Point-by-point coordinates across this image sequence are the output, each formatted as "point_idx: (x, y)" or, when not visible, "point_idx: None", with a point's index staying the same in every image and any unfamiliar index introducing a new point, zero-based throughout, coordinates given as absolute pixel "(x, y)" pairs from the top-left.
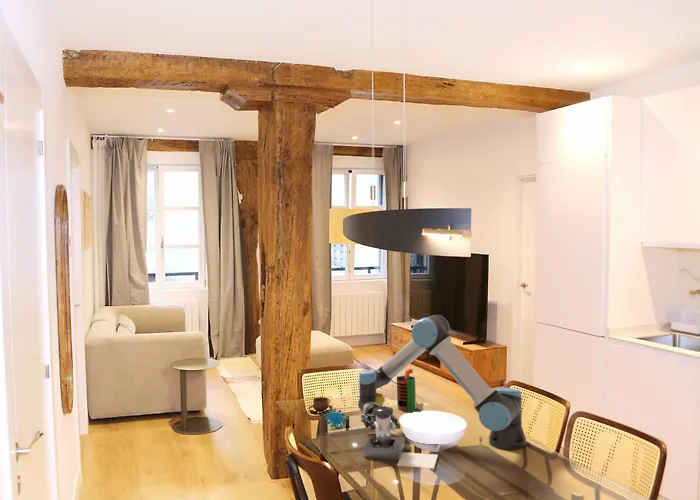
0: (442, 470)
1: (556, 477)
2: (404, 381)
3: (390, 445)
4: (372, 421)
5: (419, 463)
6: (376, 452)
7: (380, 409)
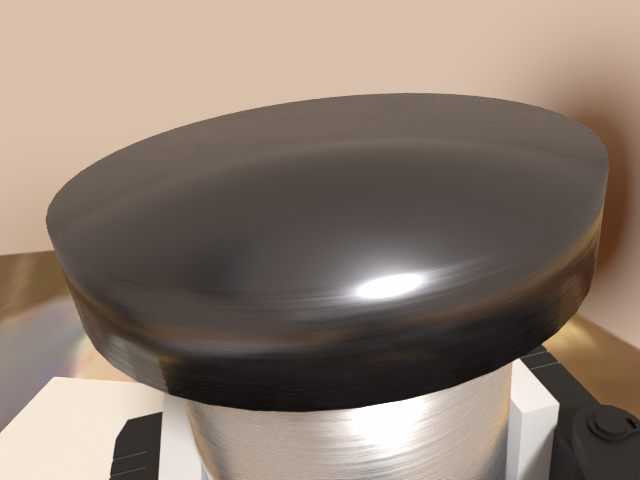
0: (5, 398)
1: None
2: None
3: None
4: (596, 425)
5: (105, 428)
6: None
7: (385, 140)
